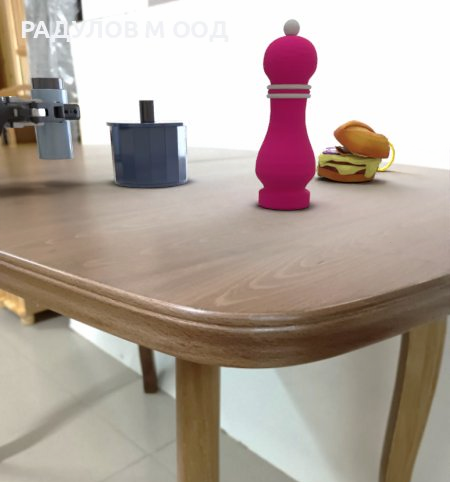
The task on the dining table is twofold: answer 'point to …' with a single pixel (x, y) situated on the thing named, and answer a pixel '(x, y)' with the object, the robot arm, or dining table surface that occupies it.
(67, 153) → the shaker
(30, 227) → the dining table surface
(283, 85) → the pepper mill
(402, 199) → the dining table surface
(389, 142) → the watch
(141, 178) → the pot
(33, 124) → the robot arm
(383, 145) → the cheeseburger
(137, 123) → the pot lid
